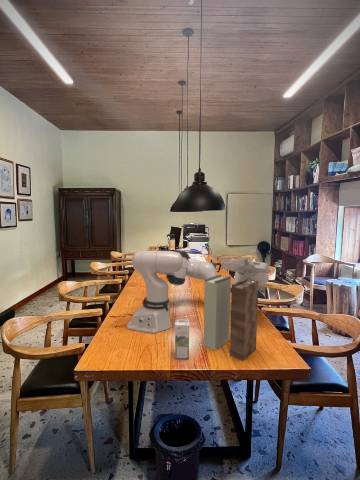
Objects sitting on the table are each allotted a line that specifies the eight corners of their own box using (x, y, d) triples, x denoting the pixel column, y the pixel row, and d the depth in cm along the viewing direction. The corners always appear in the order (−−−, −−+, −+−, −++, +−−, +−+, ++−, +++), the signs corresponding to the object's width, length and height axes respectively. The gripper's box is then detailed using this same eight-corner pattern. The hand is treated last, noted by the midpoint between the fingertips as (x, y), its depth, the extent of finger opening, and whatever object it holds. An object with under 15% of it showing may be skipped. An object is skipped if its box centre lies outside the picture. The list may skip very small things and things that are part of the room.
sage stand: (217, 336, 131) (219, 274, 128) (229, 340, 127) (230, 276, 124) (203, 345, 122) (204, 279, 119) (215, 350, 118) (216, 281, 115)
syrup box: (188, 351, 116) (188, 318, 115) (189, 359, 110) (189, 324, 109) (174, 352, 116) (174, 318, 115) (174, 359, 110) (175, 324, 109)
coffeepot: (202, 280, 235) (202, 260, 233) (204, 278, 244) (205, 258, 242) (219, 282, 230) (220, 261, 228) (222, 280, 239) (222, 259, 237)
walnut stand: (243, 345, 123) (245, 278, 120) (255, 349, 119) (258, 281, 116) (229, 355, 113) (231, 284, 110) (243, 360, 110) (245, 287, 106)
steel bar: (244, 262, 142) (244, 256, 142) (249, 263, 140) (250, 257, 140) (222, 269, 126) (222, 262, 125) (227, 270, 124) (228, 263, 123)
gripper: (270, 278, 140) (261, 268, 130) (234, 272, 153) (224, 263, 143) (273, 267, 142) (264, 256, 132) (237, 262, 155) (227, 252, 145)
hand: (243, 260), depth 138 cm, fingers closed on steel bar, 3 cm apart
